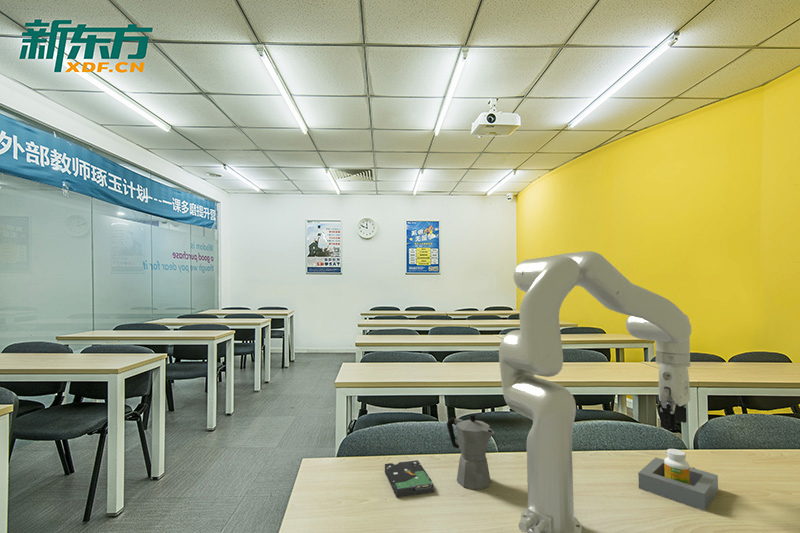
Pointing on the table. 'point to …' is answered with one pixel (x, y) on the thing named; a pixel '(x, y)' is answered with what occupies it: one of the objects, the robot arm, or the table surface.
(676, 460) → the supplement bottle
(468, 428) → the coffeepot
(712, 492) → the gray rectangular open box
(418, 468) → the disk drive
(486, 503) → the table surface
